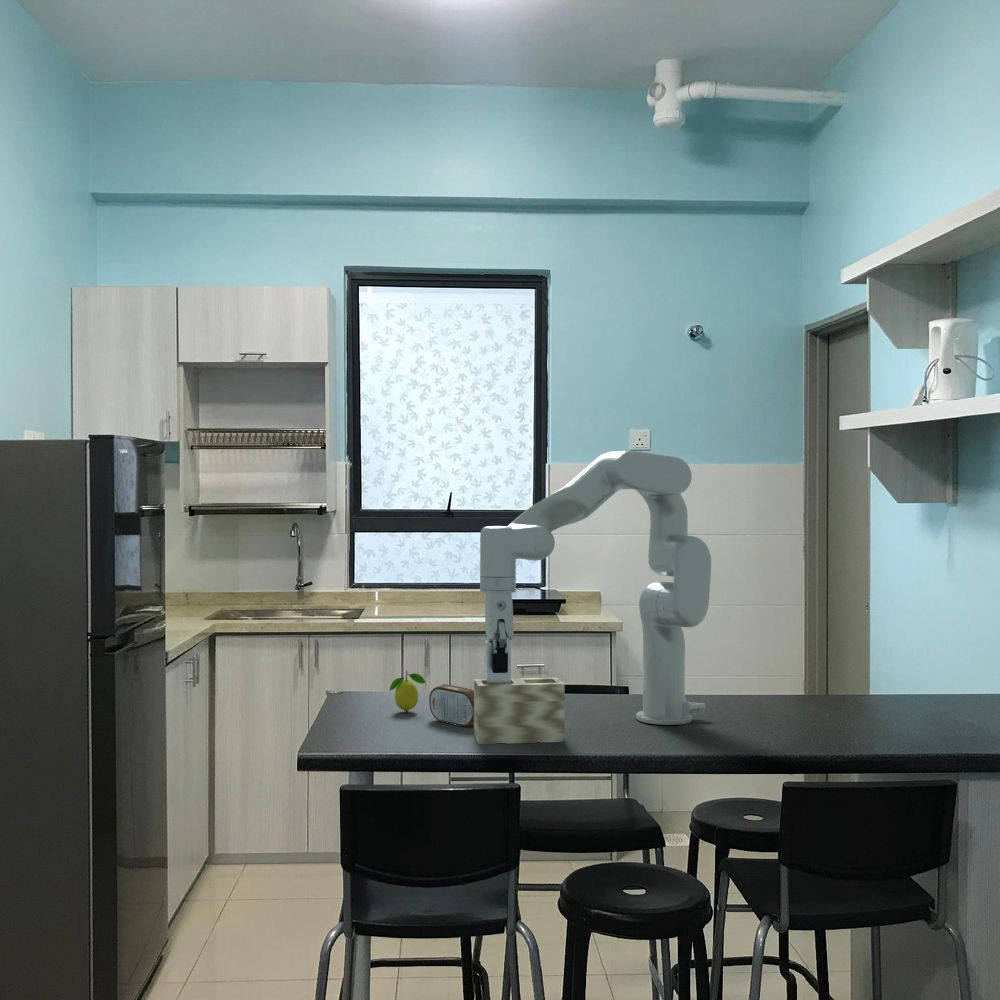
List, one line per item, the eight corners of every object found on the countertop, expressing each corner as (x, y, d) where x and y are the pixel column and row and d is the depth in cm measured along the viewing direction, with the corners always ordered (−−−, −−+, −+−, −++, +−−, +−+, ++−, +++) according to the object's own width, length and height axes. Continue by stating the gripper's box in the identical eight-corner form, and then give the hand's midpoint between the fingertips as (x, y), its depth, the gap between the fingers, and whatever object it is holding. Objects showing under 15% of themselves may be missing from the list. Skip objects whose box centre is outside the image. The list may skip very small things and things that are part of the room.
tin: (483, 728, 221) (483, 690, 221) (473, 730, 219) (473, 691, 219) (436, 718, 231) (436, 681, 231) (426, 720, 229) (426, 683, 229)
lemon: (425, 711, 239) (425, 669, 239) (412, 715, 233) (412, 672, 233) (401, 708, 242) (402, 667, 242) (388, 713, 236) (388, 670, 237)
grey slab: (508, 697, 212) (508, 640, 212) (510, 699, 209) (510, 642, 209) (485, 697, 212) (485, 640, 212) (486, 700, 209) (487, 642, 209)
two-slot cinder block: (556, 733, 216) (556, 677, 216) (564, 741, 208) (564, 684, 208) (473, 735, 214) (474, 679, 214) (478, 744, 206) (478, 685, 206)
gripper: (522, 588, 202) (521, 676, 202) (509, 581, 220) (509, 663, 219) (485, 588, 201) (485, 677, 201) (475, 581, 219) (475, 663, 218)
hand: (497, 669), depth 210 cm, fingers open, 6 cm apart
